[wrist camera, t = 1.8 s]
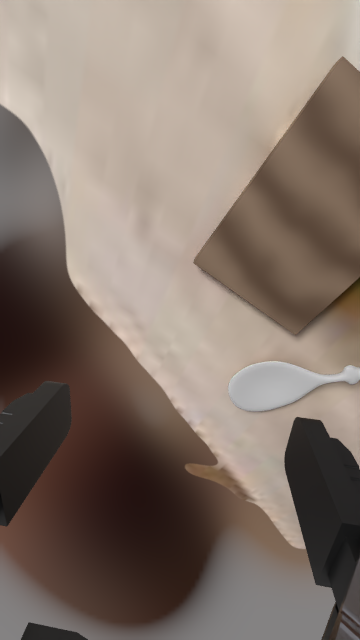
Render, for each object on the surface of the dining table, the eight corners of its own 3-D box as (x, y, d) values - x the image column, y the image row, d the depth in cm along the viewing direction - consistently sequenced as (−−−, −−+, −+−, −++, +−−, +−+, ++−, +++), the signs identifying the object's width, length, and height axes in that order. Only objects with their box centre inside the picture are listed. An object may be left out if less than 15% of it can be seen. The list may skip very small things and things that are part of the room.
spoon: (481, 358, 37) (503, 375, 34) (240, 408, 48) (240, 424, 45) (479, 297, 34) (504, 310, 31) (220, 366, 44) (219, 381, 41)
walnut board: (335, 63, 26) (342, 56, 24) (457, 174, 28) (471, 175, 27) (195, 257, 36) (193, 262, 35) (292, 327, 39) (295, 335, 37)
